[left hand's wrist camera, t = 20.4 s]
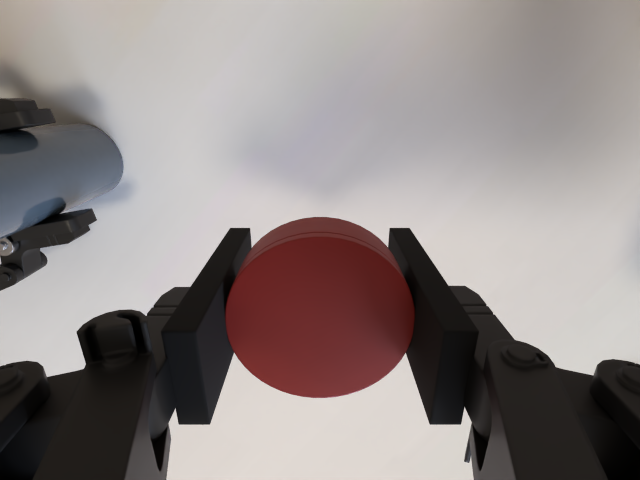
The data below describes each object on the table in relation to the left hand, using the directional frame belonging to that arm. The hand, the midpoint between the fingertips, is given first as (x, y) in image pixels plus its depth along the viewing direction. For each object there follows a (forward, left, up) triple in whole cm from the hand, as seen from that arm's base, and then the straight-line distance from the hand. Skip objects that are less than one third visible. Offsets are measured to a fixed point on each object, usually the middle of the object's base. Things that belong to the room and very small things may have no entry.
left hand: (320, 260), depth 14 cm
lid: (0, 0, +4) cm, 4 cm away
